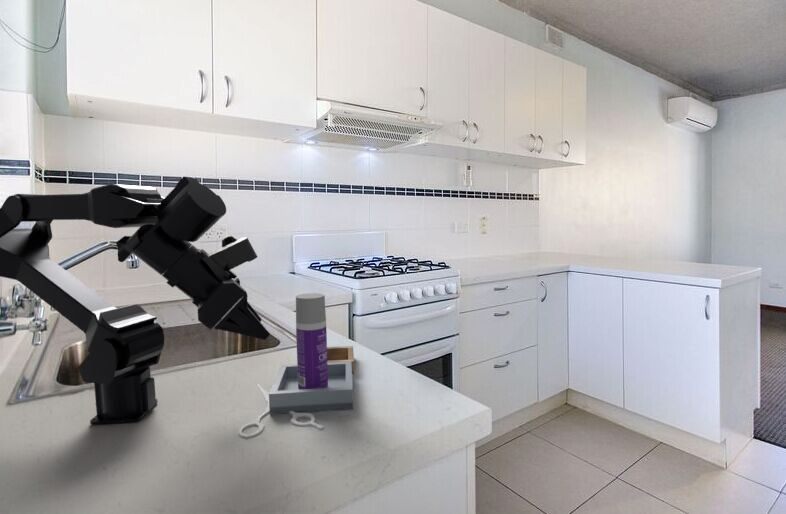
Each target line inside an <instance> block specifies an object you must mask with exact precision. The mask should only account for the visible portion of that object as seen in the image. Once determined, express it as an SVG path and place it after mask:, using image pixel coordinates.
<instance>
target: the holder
mask: <svg viewBox="0 0 786 514" xmlns="http://www.w3.org/2000/svg"><path fill="white" fill-rule="evenodd" d="M332 362H351V366H352V376H355V355H354V345H343V346H341V345H340V346H327V363H332Z"/></svg>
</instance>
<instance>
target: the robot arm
mask: <svg viewBox="0 0 786 514" xmlns="http://www.w3.org/2000/svg"><path fill="white" fill-rule="evenodd" d="M226 213H227V206H226V204H225V201H224V200H223V199H222V197H221V196H220V195H218V194H216V193H215V192H214V191H213V190H212V189H210V188H209V187H207V186H206V185H204V184H202V183H200V182H199V180H198V179H197V178H196V177H193V176H192V177H191V176H182V177H181V178H180V179H179V181H178V182H177V184H176V185H175V187H174V188H173V189H172V190H171V191H170V192H169V193H168V194H167V195H166V196H165V197H164V196H161V193H160V192H159V191H158V190H157V188H155V187H153V186H146V185H145V186H143V185H132V184H131V185H130V184H117V183H116V184H115V183H110V184H105V185H101V186H98V187H94V188H91V189H90V191H89V192H83V193H70V194H69V193H68V194H67V193H66V194H65V193H63V194H61V193H59V194H34V193H33V194H31V193H15V194H12V195H9V196H7V198H5V200H4V202H3V204H1V207H0V277H2V278H4V279H10V280H15V281H17V282H20V284H22V285H23V286H24V287H25V288H27V289H28V290H30V291H31V292H32V294H33V293H34V295H36V296H37V297H38V298H39V299H41V300H42V301H43V302H45V303H46V304H47V305H48V306H50V307H51V308H53V309H54V310H55V311H56V312H57V313H59V314H60V315H61V316H63V318H65V319H67V321H69V322H70V323H71V324H72V325H74V326H76V327H77V328H78V329H79V330H80V331H82V332H83V333H84V334H85V341H86V342H85V343H86V348H87V349H86V350H87V352H88V353H89V354H87V356H85V358H84V359H83V361H81V363H80V365H78V371H79V374H80V377H81V380H82V381H83V382H84V383H90V384H92V383H93V386H94V396H95V397H94V398H95V399H94V400H95V409H96V415H95V416H94V417H92V418H91V419H90V420H89V422H90V423H89V424H90V425H100V424H118V423H119V424H121V423H136V422H139V421H140V420H142V419H143V418H144V417H145V416H146V415H147V414H148V413H149V412H150V411H151V410H152V409H153V408H154V406H156V405H157V404H158V398H157V397H156V383H155V378H154V377H151V376H152V375H151V367H152V366H154V365H158V364H159V362H160V357H161V354H162V351H163V349H164V345H165V333H164V328H163V327H162V325H160V323H158V322H157V321H155V320H157V319H158V317H157V316H154V315H151V314H149V313H148V312H147V311H145V309H144V308H143V307H142V306H140V305H139V304H136V303H133V304H130V305H129V304H128V305H126V306H125V305H124V306H121V307H115V306H113V305H112V304H111V303H110V302H108V301H107V300H105V299H104V298H103V297H101V296H100V295H99V294H98V293H97V292H95V291H94V290H93V289H92V288H90V287H88V286H87V285H85V283H83V282H82V281H80V280H79V279H78V278H77V277H75V276H74V275H72V274H71V273H70V272H69V271H68V270H66V269H65V268H63V267H62V266H61V265H59V264H58V263H56V262H55V261H54V260H52V259H51V257H50V245H49V243H50V242H51V240H52V239H53V231H52V226H51V224H52V222H53V221H66V220H67V221H69V220H70V221H77V220H78V221H82V220H83V221H88V222H92V223H93V224H94V225H99V226H102V227H106V228H107V227H108V228H113V229H123V228H126V229H127V228H128V229H129V228H138V229H137V230H136V231H135V232H134V233H133V234H132V235H130V236H128V235H124V236H123V237H120V238H119V239H118V240H117V241H116V243H115V245H116V247H117V261H118V262H120V263H123V262H125V261H127V259H128V258H130V257H131V256H133V255H134V256H136V257H137V258H138V259H140V261H142V262H143V263H145V264H146V265H147V266H149V268H151V269H152V270H153V271H155V272H156V273H158V274H159V275H161V277H163V278H164V279H165V280H166V284H167V285H169V286H170V287H171V288H174V287H175V288H177V289H178V290H179V291H181V292H182V293H183V294H184V295H186V296H187V297H189V299H191V303H192V304H193V305H195V306H196V308H197V320H198V322H199V323H201V324H203V325H204V326H205V327H206V328H207V329H209V330H211V329H213V330H215V331H219V330H220V331H225V332H229V333H233V334H239V335H242V336H247V337H251V338H253V339H259V340H263V341H266V340H267V339H268V338H269V337H270V335H271V333H270V332H269V331H268V330H267V328H266V327H265V326H264V325H263V323H262V317H261V316H260V315H259V314H258V313H257V311H256V310H255V309H254V307H252V305H251V304H250V303H249V302H248V292H247V291H246V290H245V288H243V287H242V286H241V280H240V278H239V277H238V276H237V274H236V273H234V271H232V269H235V268H237V267H239V266H241V265H243V264H245V263H246V262H247V263H248V262H249V263H250V262H251V261H253V260H256V259H257V258H258V254H257V253H256V251H255V249H254V247H253V246H252V243H251V242H250V240H249V238H248V237H247V236H243V237H240V238H239V239H237V238H235V237H234V236H232V235H228V236H226V237H224V238H222V239H221V247H220V248H217V249H216V250H214V251H212V252H210V253H208V252H207V251H206V250H204V248H201V249H200V248H197V247H196V246H195V245H194V244H192V243H194V242H197V241H199V240H200V239H201V238H202V237H203V236H204V235H205V234H206V233H207V232H208V231H209V230H210V229H211V228H213V226H214V225H215V224H216V223H217V222H219V221H220V219H222V217H224V216H225V214H226ZM21 222H22V223H25V222H26V223H27V222H28V223H29V222H34V225H33V226H32V227H31V228H18V226H19V225H20V224H21Z"/></svg>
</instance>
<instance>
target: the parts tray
mask: <svg viewBox="0 0 786 514" xmlns="http://www.w3.org/2000/svg"><path fill="white" fill-rule="evenodd" d="M278 369H279V370H278V371H277V373H276V376H275V379H274V381H273V384H272V386H271V388H270V391H269V392H268V394H269V409H270V413H269V414H270V415H276V414H279V415H280V414H290V413H289V411H294V412H297V413H309V412H311V413H312V412H326V411H341V410H342V411H343V410H353V409H354V396H353V395H354V393H353V392H354V391H353V390H354V389H353V375H352V366H351V362H332V363H327V369H328V388H320V389H302V390H298V368H297V363H294V364H293V363H292V364H280V367H279V368H278Z"/></svg>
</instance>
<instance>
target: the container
mask: <svg viewBox="0 0 786 514" xmlns="http://www.w3.org/2000/svg"><path fill="white" fill-rule="evenodd" d="M325 297H326V295H325V294H323V293H318V292H316V293H315V292H309V293H302V294H298V295H296V296H295V334H296V336H295V337H296V340H295V341H296V361H297V363H296V364H297V368H298V390H302V389H320V388H328V369H327V347H328V344H327V343H328V342H327V341H328V340H327V339H328V337H327V316H326V315H327V314H326V312H327V311H326V298H325Z"/></svg>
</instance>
